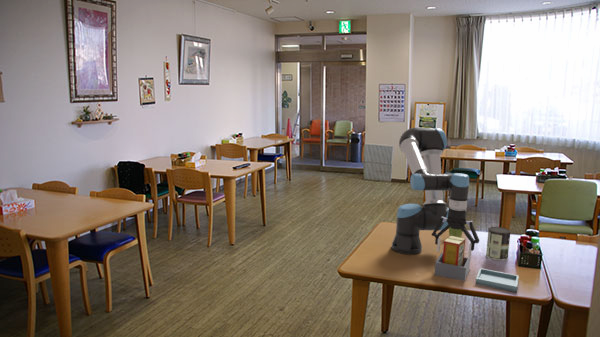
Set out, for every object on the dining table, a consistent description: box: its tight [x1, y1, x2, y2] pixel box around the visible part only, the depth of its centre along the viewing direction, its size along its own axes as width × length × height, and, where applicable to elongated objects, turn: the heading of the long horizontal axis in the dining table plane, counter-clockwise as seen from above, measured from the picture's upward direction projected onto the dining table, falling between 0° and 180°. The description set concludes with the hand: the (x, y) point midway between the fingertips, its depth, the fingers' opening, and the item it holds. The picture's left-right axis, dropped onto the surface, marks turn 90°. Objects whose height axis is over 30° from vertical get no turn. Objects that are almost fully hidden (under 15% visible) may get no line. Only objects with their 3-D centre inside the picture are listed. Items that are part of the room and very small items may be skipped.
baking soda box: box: [442, 236, 466, 267], centre depth 206 cm, size 10×6×16 cm
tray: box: [475, 267, 520, 293], centre depth 198 cm, size 16×13×2 cm
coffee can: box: [485, 226, 511, 262], centre depth 227 cm, size 10×10×14 cm
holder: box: [433, 252, 471, 282], centre depth 207 cm, size 13×14×6 cm
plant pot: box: [448, 227, 464, 238], centre depth 253 cm, size 9×9×9 cm
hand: (453, 254), depth 206 cm, fingers open, 13 cm apart
